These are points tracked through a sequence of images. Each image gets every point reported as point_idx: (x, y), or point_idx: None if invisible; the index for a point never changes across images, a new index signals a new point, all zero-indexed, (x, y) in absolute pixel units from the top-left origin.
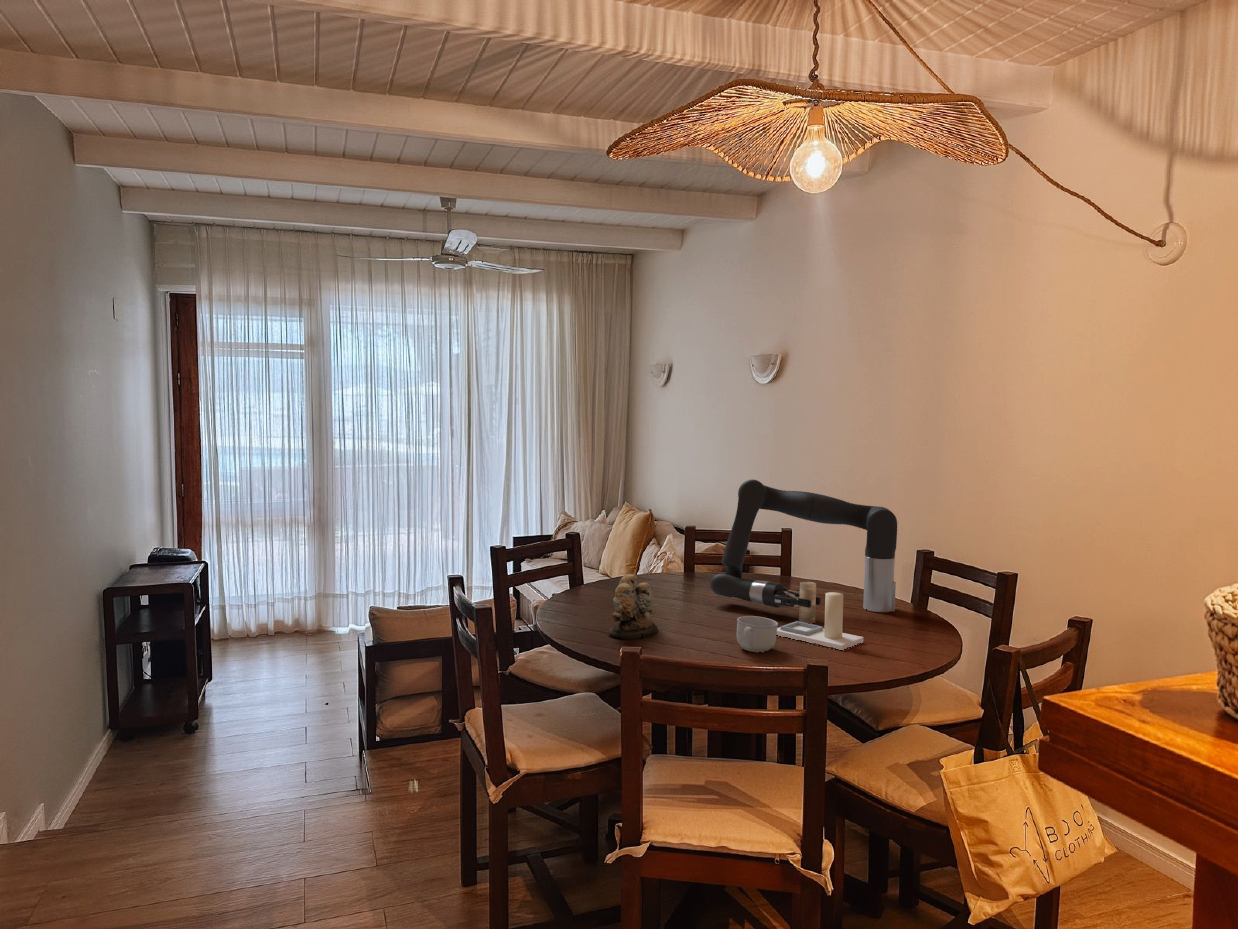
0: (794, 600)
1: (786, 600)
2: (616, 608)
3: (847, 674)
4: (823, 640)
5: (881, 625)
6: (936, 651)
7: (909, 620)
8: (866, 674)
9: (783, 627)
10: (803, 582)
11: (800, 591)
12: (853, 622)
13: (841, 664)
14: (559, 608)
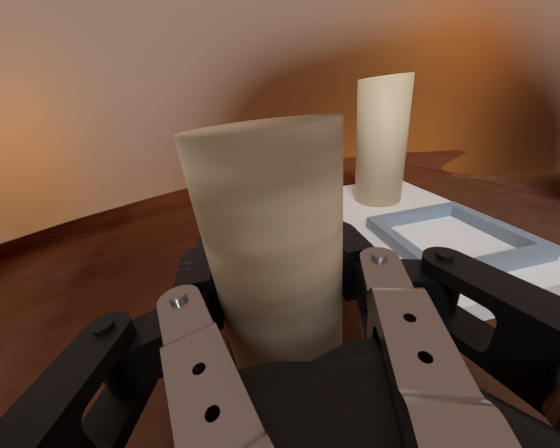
0: (421, 259)
1: (497, 326)
2: None
3: (443, 157)
4: (419, 191)
5: (127, 253)
6: None
7: (22, 259)
8: (415, 156)
9: (545, 241)
10: (260, 128)
11: (340, 204)
12: (133, 296)
13: (432, 168)
14: None
